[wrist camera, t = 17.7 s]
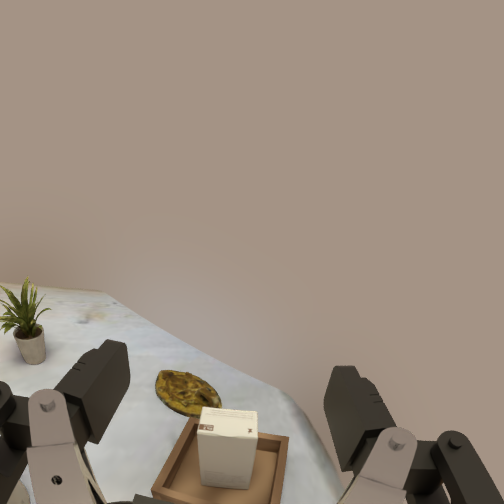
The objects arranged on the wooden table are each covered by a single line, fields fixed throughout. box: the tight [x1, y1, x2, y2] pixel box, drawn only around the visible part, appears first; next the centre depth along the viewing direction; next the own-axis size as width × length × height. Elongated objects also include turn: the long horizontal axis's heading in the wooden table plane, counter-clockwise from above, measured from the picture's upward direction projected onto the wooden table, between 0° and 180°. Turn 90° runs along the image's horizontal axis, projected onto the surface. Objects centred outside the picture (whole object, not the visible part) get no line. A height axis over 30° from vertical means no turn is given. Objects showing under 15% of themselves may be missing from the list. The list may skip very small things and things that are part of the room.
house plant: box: [0, 277, 52, 365], centre depth 42 cm, size 14×14×16 cm
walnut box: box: [151, 417, 289, 504], centre depth 28 cm, size 14×14×4 cm
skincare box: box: [197, 407, 258, 490], centre depth 27 cm, size 6×4×12 cm
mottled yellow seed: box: [155, 370, 222, 419], centre depth 44 cm, size 9×5×15 cm
